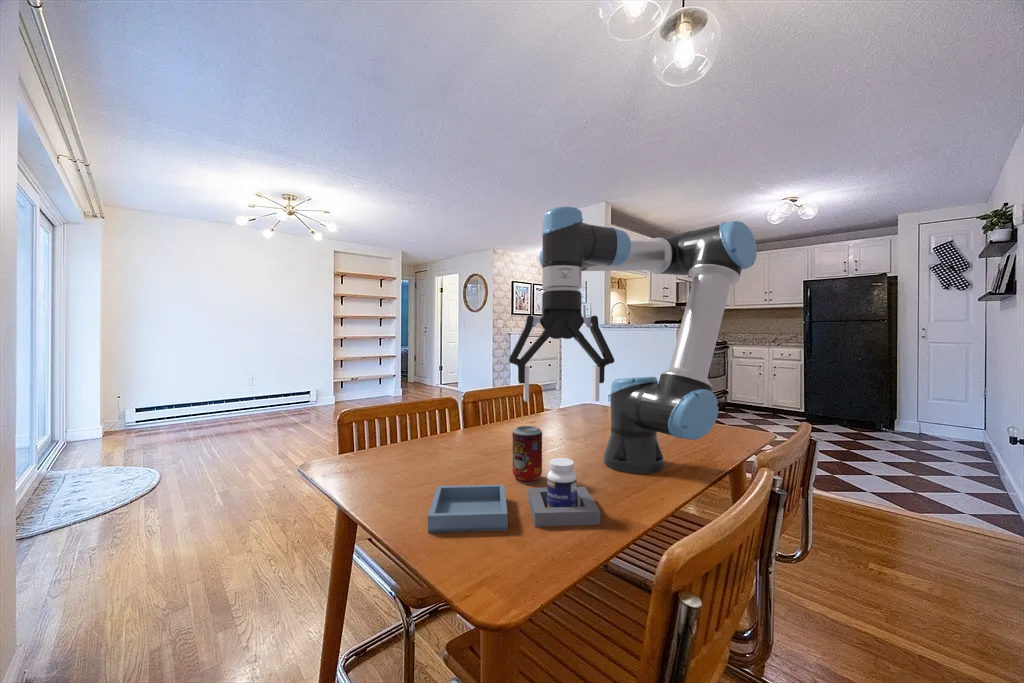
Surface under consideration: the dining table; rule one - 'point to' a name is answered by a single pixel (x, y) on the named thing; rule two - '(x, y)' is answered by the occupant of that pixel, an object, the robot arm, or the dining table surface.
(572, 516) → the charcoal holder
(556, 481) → the pill bottle
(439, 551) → the dining table surface
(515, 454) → the soda can
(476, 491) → the parts tray
